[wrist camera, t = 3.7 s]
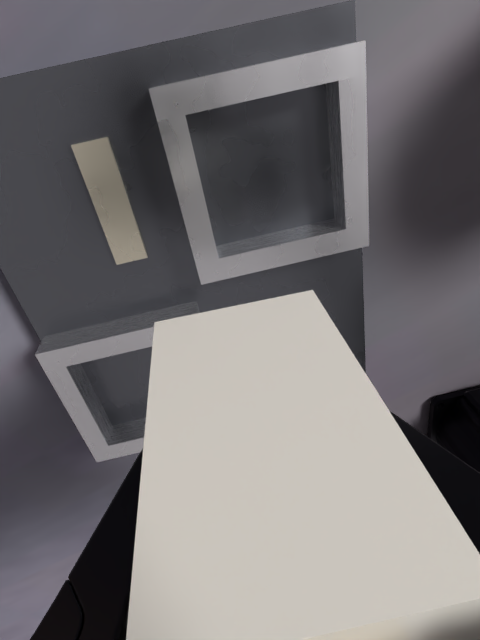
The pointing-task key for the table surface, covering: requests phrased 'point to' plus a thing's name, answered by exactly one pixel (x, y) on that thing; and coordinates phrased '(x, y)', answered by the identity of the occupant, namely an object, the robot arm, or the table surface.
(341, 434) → the plug
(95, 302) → the panel
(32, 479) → the table surface
